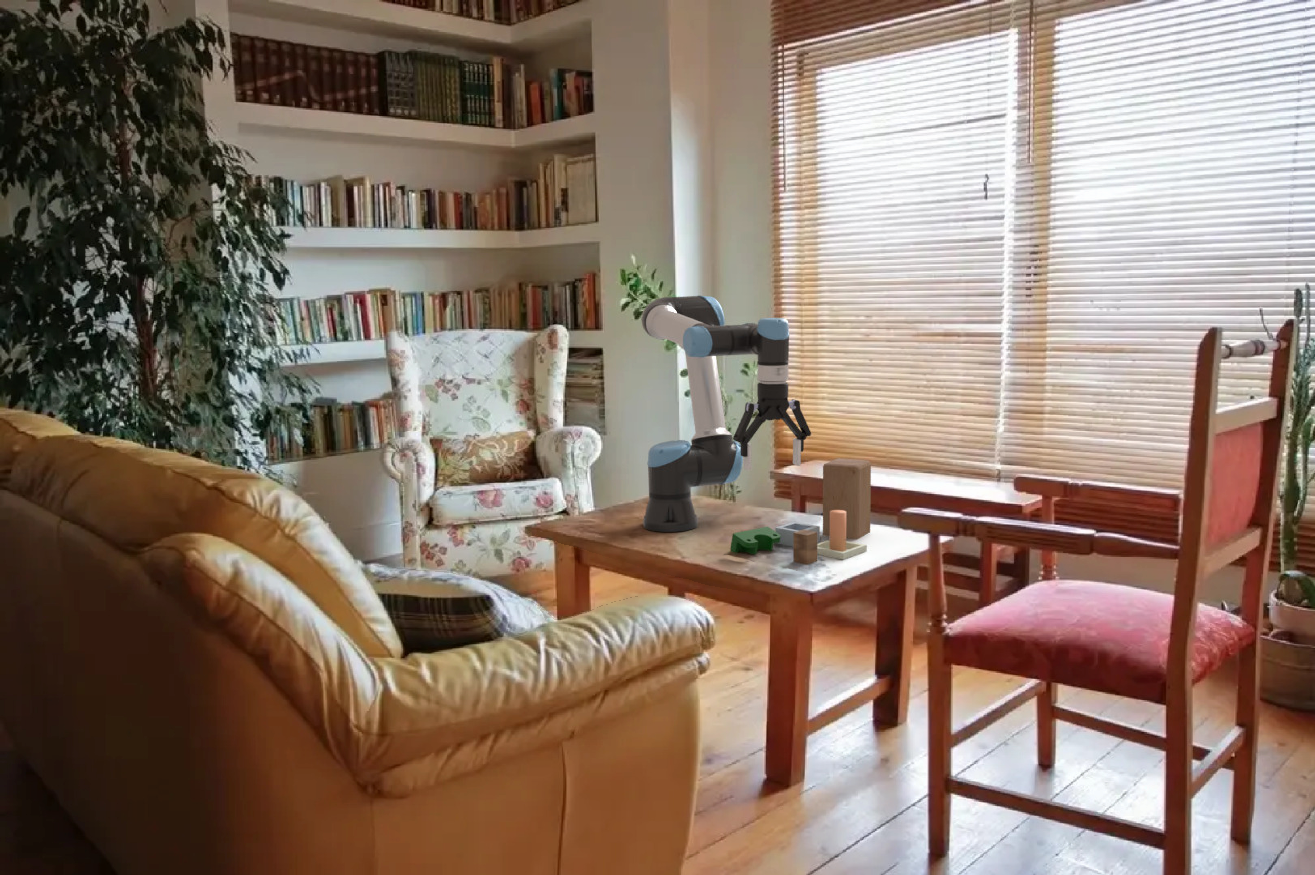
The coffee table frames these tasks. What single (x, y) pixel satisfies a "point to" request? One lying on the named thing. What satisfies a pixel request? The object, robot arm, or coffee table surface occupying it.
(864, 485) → the wooden block
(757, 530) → the clamp
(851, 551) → the tray
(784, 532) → the socket
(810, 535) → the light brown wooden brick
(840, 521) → the peach rounded rod
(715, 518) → the coffee table surface
